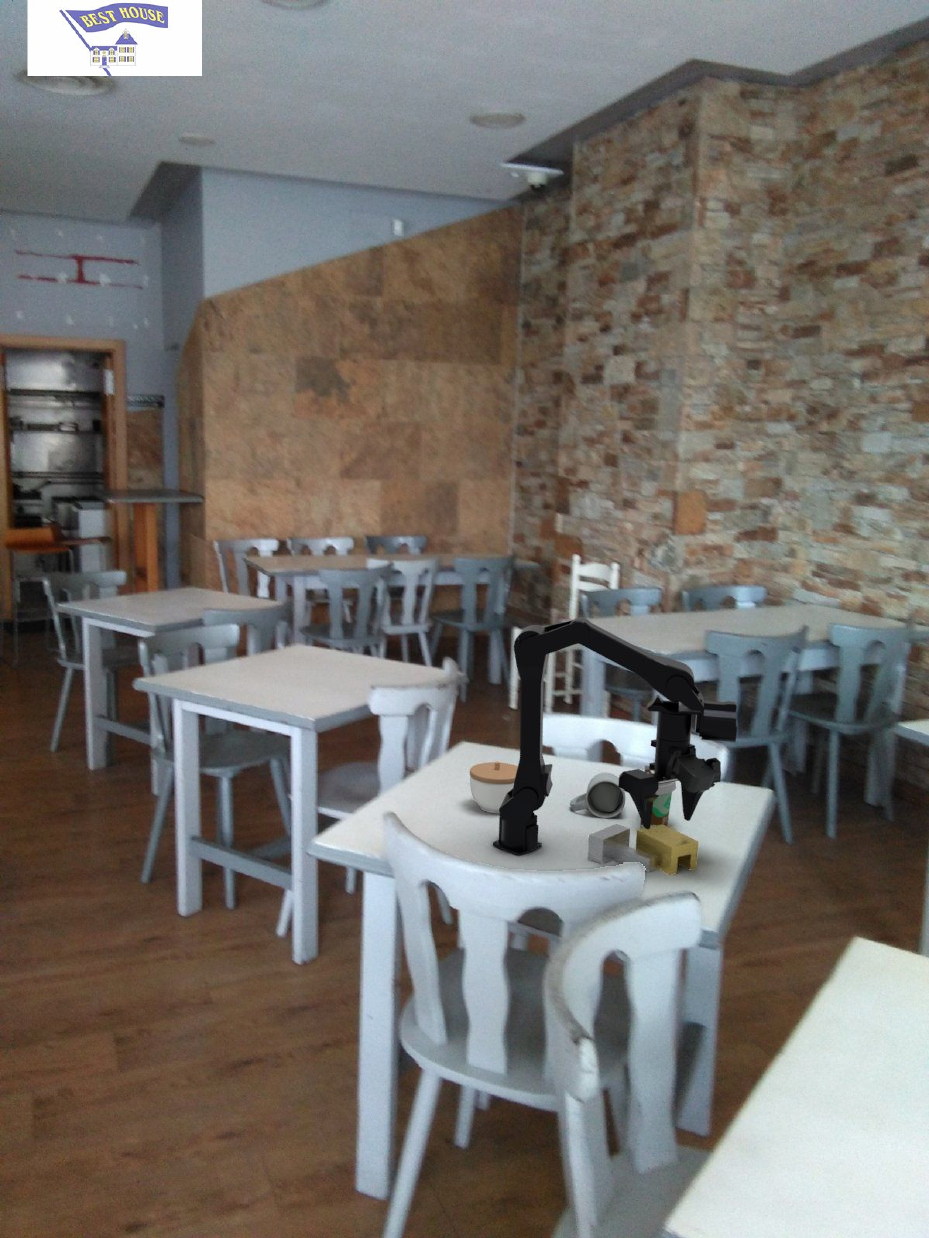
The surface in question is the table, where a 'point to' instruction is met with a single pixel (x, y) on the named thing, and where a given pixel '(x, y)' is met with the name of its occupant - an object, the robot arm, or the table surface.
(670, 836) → the block
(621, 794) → the ceramic mug
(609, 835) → the rail
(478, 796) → the lidded jar
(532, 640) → the robot arm
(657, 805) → the food container
